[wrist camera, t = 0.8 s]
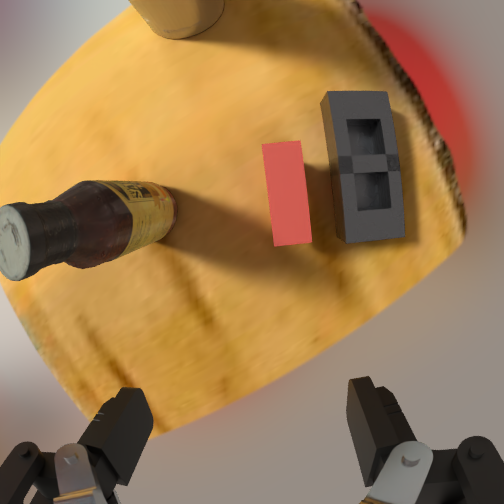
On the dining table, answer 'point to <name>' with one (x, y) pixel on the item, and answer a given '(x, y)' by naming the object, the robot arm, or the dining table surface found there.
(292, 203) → the red block
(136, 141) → the dining table surface
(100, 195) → the sauce bottle
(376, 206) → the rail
